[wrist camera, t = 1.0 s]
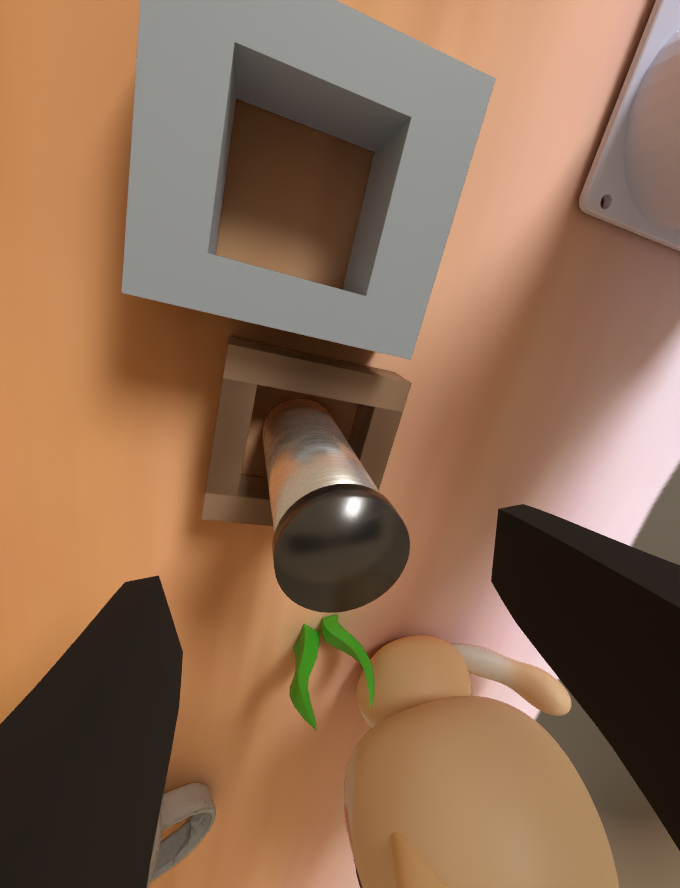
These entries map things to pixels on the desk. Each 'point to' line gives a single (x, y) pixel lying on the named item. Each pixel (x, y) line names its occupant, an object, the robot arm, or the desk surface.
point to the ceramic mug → (188, 836)
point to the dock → (319, 107)
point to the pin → (327, 514)
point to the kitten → (458, 772)
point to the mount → (304, 374)
